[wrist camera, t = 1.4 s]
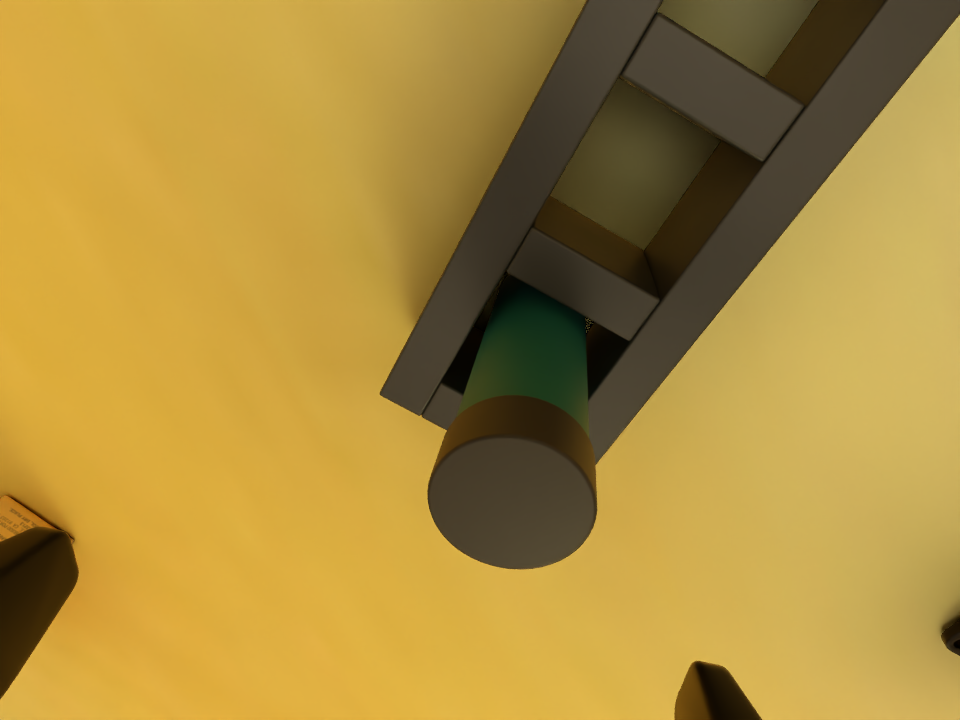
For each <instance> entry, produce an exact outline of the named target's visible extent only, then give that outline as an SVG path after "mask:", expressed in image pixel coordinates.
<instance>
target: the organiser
mask: <svg viewBox="0 0 960 720" xmlns="http://www.w3.org/2000/svg"><path fill="white" fill-rule="evenodd" d="M662 2H663V0H587V1H586V2H585V4H584V6H583V8H582V10H581V12H580V14H579V16H578V18H577V19H576V21H575V23H574V25H573V27H572V29H571V31H570V33H569V35H568V37H567V38H566V40H565V42H564V44H563V46H562V48H561V50H560V52H559V54H558V55H557V57H556V59H555V61H554V63H553V65H552V67H551V69H550V71H549V73H548V74H547V76H546V78H545V80H544V82H543V84H542V86H541V88H540V90H539V92H538V93H537V95H536V97H535V99H534V101H533V103H532V105H531V107H530V109H529V110H528V112H527V114H526V116H525V118H524V120H523V122H522V124H521V126H520V128H519V129H518V131H517V133H516V135H515V137H514V139H513V141H512V143H511V145H510V146H509V148H508V150H507V152H506V154H505V156H504V158H503V160H502V162H501V164H500V165H499V167H498V169H497V171H496V173H495V175H494V177H493V179H492V181H491V182H490V184H489V186H488V188H487V190H486V192H485V194H484V196H483V198H482V200H481V201H480V203H479V205H478V207H477V209H476V211H475V213H474V215H473V217H472V219H471V220H470V222H469V224H468V226H467V228H466V230H465V232H464V234H463V236H462V237H461V239H460V241H459V243H458V245H457V247H456V249H455V251H454V253H453V255H452V256H451V258H450V260H449V262H448V264H447V266H446V268H445V270H444V272H443V273H442V275H441V277H440V279H439V281H438V283H437V285H436V287H435V289H434V291H433V292H432V294H431V296H430V298H429V300H428V302H427V304H426V306H425V308H424V310H423V311H422V313H421V315H420V317H419V319H418V321H417V323H416V325H415V327H414V328H413V330H412V332H411V334H410V336H409V338H408V340H407V342H406V344H405V346H404V347H403V349H402V351H401V353H400V355H399V357H398V359H397V361H396V363H395V364H394V366H393V368H392V370H391V372H390V374H389V376H388V378H387V380H386V382H385V383H384V385H383V387H382V389H381V391H380V395H381V396H383V397H384V398H386V399H388V400H390V401H392V402H394V403H396V404H398V405H400V406H402V407H403V408H405V409H407V410H409V411H411V412H413V413H415V414H417V415H419V416H420V415H422V417H423V418H424V419H426V420H428V421H430V422H432V423H434V424H436V425H438V426H440V427H442V428H443V429H445V430H448V428H449V426H450V425H451V423H452V422H453V421H454V419H455V418H456V416H457V413H458V410H459V407H460V404H461V401H462V398H463V395H464V392H465V389H466V386H467V383H468V380H469V377H470V374H471V371H472V368H473V365H474V362H475V359H476V356H477V353H478V350H479V348H480V345H481V342H482V339H483V336H484V332H482V331H481V330H479V329H477V328H475V327H473V326H474V324H475V322H476V321H477V319H478V317H479V316H480V314H481V312H482V310H483V309H484V307H485V305H486V304H487V302H488V300H489V298H490V297H491V295H492V293H493V292H494V290H495V288H496V286H497V285H498V283H499V281H500V280H501V278H502V276H503V274H504V273H505V271H506V269H507V273H508V274H510V275H512V276H514V277H515V278H517V279H519V280H521V281H523V282H524V283H526V284H528V285H530V286H531V287H533V288H535V289H537V290H539V291H540V292H542V293H544V294H546V295H547V296H549V297H551V298H553V299H555V300H556V301H558V302H560V303H562V304H564V305H565V306H567V307H569V308H571V309H572V310H574V311H576V312H578V313H580V314H581V315H583V316H585V317H587V318H588V319H590V320H592V321H594V322H595V323H594V324H593V326H592V327H591V328H590V330H589V331H588V333H587V334H586V353H587V383H588V414H589V439H590V441H591V444H592V447H593V450H594V455H595V465H596V464H597V462H598V461H599V460H600V459H601V457H602V456H603V455H604V454H605V453H606V451H607V450H608V449H609V448H610V446H611V445H612V444H613V443H614V441H615V440H616V439H617V438H618V436H619V435H620V434H621V433H622V431H623V430H624V429H625V428H626V427H627V425H628V424H629V423H630V422H631V420H632V419H633V418H634V417H635V415H636V414H637V413H638V412H639V410H640V409H641V408H642V407H643V406H644V404H645V403H646V402H647V401H648V399H649V398H650V397H651V396H652V394H653V393H654V392H655V391H656V389H657V388H658V387H659V386H660V384H661V383H662V382H663V381H664V380H665V378H666V377H667V376H668V375H669V373H670V372H671V371H672V370H673V368H674V367H675V366H676V365H677V363H678V362H679V361H680V360H681V358H682V357H683V356H684V355H685V354H686V352H687V351H688V350H689V349H690V347H691V346H692V345H693V344H694V342H695V341H696V340H697V339H698V337H699V336H700V335H701V334H702V333H703V331H704V330H705V329H706V328H707V326H708V325H709V324H710V323H711V321H712V320H713V319H714V318H715V316H716V315H717V314H718V313H719V311H720V310H721V309H722V308H723V307H724V305H725V304H726V303H727V302H728V300H729V299H730V298H731V297H732V295H733V294H734V293H735V292H736V290H737V289H738V288H739V287H740V285H741V284H742V283H743V282H744V281H745V279H746V278H747V277H748V276H749V274H750V273H751V272H752V271H753V269H754V268H755V267H756V266H757V264H758V263H759V262H760V261H761V260H762V258H763V257H764V256H765V255H766V253H767V252H768V251H769V250H770V248H771V247H772V246H773V245H774V243H775V242H776V241H777V240H778V238H779V237H780V236H781V235H782V234H783V232H784V231H785V230H786V229H787V227H788V226H789V225H790V224H791V222H792V221H793V220H794V219H795V217H796V216H797V215H798V214H799V212H800V211H801V210H802V209H803V208H804V206H805V205H806V204H807V203H808V201H809V200H810V199H811V198H812V196H813V195H814V194H815V193H816V191H817V190H818V189H819V188H820V187H821V185H822V184H823V183H824V182H825V180H826V179H827V178H828V177H829V175H830V174H831V173H832V172H833V170H834V169H835V168H836V167H837V165H838V164H839V163H840V162H841V161H842V159H843V158H844V157H845V156H846V154H847V153H848V152H849V151H850V149H851V148H852V147H853V146H854V144H855V143H856V142H857V141H858V139H859V138H860V137H861V136H862V135H863V133H864V132H865V131H866V130H867V128H868V127H869V126H870V125H871V123H872V122H873V121H874V120H875V118H876V117H877V116H878V115H879V114H880V112H881V111H882V110H883V109H884V107H885V106H886V105H887V104H888V102H889V101H890V100H891V99H892V97H893V96H894V95H895V94H896V92H897V91H898V90H899V89H900V88H901V86H902V85H903V84H904V83H905V81H906V80H907V79H908V78H909V76H910V75H911V74H912V73H913V71H914V70H915V69H916V68H917V66H918V65H919V64H920V63H921V62H922V60H923V59H924V58H925V57H926V55H927V54H928V53H929V52H930V50H931V49H932V48H933V47H934V45H935V44H936V43H937V42H938V40H939V39H940V38H941V37H942V36H943V34H944V33H945V32H946V31H947V29H948V28H949V27H950V26H951V24H952V23H953V22H954V21H955V19H956V18H957V17H958V16H959V15H960V0H819V2H818V3H817V4H816V6H815V7H814V9H813V10H812V12H811V13H810V14H809V16H808V17H807V19H806V20H805V22H804V23H803V25H802V26H801V27H800V29H799V30H798V32H797V33H796V35H795V36H794V37H793V39H792V40H791V42H790V43H789V45H788V46H787V47H786V49H785V50H784V52H783V53H782V55H781V56H780V58H779V59H778V60H777V62H776V63H775V65H774V66H773V68H772V69H771V70H770V72H769V73H768V75H767V76H766V78H763V77H762V76H760V75H759V74H757V73H755V72H754V71H752V70H751V69H749V68H748V67H746V66H744V65H743V64H741V63H740V62H738V61H736V60H735V59H733V58H732V57H730V56H728V55H727V54H725V53H724V52H722V51H720V50H719V49H717V48H716V47H714V46H713V45H711V44H709V43H708V42H706V41H705V40H703V39H701V38H700V37H698V36H697V35H695V34H693V33H692V32H690V31H689V30H687V29H685V28H684V27H682V26H681V25H679V24H677V23H676V22H674V21H673V20H671V19H670V18H668V17H666V16H665V15H663V14H662V13H656V12H657V11H658V9H659V7H660V5H661V4H662ZM618 77H619V78H620V79H622V80H624V81H625V82H627V83H629V84H630V85H632V86H634V87H635V88H637V89H638V90H640V91H642V92H643V93H645V94H647V95H648V96H650V97H652V98H653V99H655V100H656V101H658V102H660V103H661V104H663V105H665V106H666V107H668V108H670V109H671V110H673V111H674V112H676V113H678V114H679V115H681V116H683V117H684V118H686V119H688V120H689V121H691V122H692V123H694V124H696V125H697V126H699V127H701V128H702V129H704V130H706V131H707V132H709V133H710V134H712V135H714V136H715V137H717V138H719V139H720V140H722V141H721V142H720V144H719V145H718V146H717V148H716V149H715V151H714V152H713V154H712V155H711V156H710V158H709V159H708V161H707V162H706V164H705V165H704V166H703V168H702V169H701V171H700V172H699V174H698V175H697V177H696V178H695V179H694V181H693V182H692V184H691V185H690V187H689V188H688V189H687V191H686V192H685V194H684V195H683V197H682V198H681V199H680V201H679V202H678V204H677V205H676V207H675V208H674V209H673V211H672V212H671V214H670V215H669V217H668V218H667V220H666V221H665V222H664V224H663V225H662V227H661V228H660V230H659V231H658V232H657V234H656V235H655V237H654V238H653V240H652V241H651V242H650V244H649V245H648V247H647V248H646V250H645V251H643V250H642V249H640V248H638V247H637V246H635V245H633V244H632V243H630V242H628V241H626V240H625V239H623V238H621V237H620V236H618V235H616V234H614V233H613V232H611V231H609V230H607V229H606V228H604V227H602V226H601V225H599V224H597V223H595V222H594V221H592V220H590V219H589V218H587V217H585V216H583V215H582V214H580V213H578V212H576V211H575V210H573V209H571V208H570V207H568V206H566V205H564V204H563V203H561V202H559V201H558V200H556V199H554V198H552V197H551V196H550V194H551V192H552V190H553V189H554V187H555V185H556V184H557V182H558V180H559V178H560V177H561V175H562V173H563V172H564V170H565V168H566V166H567V165H568V163H569V161H570V160H571V158H572V156H573V154H574V153H575V151H576V149H577V148H578V146H579V144H580V142H581V141H582V139H583V137H584V136H585V134H586V132H587V130H588V129H589V127H590V125H591V124H592V122H593V120H594V118H595V117H596V115H597V113H598V112H599V110H600V108H601V106H602V105H603V103H604V101H605V100H606V98H607V96H608V94H609V93H610V91H611V89H612V88H613V86H614V84H615V82H616V81H617V79H618Z"/></svg>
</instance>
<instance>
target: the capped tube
mask: <svg viewBox="0 0 960 720" xmlns="http://www.w3.org/2000/svg"><path fill="white" fill-rule="evenodd" d="M428 504H429V509H430V512H431V515H432V518H433V520H434V522H435V524H436V526H437V527H438V529H439V530H440V532H441V533H442V535H443V536H444V537H445V538H446V539H447V540H448V541H449V542H450V543H451V544H452V545H453V546H454V547H456V548H457V549H458V550H460V551H461V552H463V553H464V554H466V555H468V556H469V557H471V558H473V559H475V560H478V561H480V562H483V563H486V564H489V565H492V566H496V567H501V568H508V569H533V568H539V567H543V566H547V565H550V564H553V563H556V562H558V561H561V560H562V559H564V558H566V557H568V556H569V555H571V554H572V553H573V552H575V551H576V550H577V549H578V548H579V547H580V546H581V545H582V544H583V543H584V541H585V540H586V539H587V537H588V536H589V534H590V532H591V530H592V528H593V526H594V523H595V520H596V514H597V491H596V469H595V455H594V450H593V447H592V444H591V441H590V439H589V414H588V383H587V353H586V323H585V316H583V315H581V314H580V313H578V312H576V311H574V310H572V309H571V308H569V307H567V306H565V305H564V304H562V303H560V302H558V301H556V300H555V299H553V298H551V297H549V296H547V295H546V294H544V293H542V292H540V291H539V290H537V289H535V288H533V287H531V286H530V285H528V284H526V283H524V282H523V281H521V280H519V279H517V278H515V277H514V276H512V275H510V274H509V275H508V276H507V277H506V278H505V280H504V281H503V282H502V284H501V286H500V288H499V291H498V294H497V297H496V300H495V303H494V306H493V309H492V312H491V315H490V318H489V321H488V324H487V327H486V330H485V333H484V336H483V339H482V342H481V345H480V348H479V350H478V353H477V356H476V359H475V362H474V365H473V368H472V371H471V374H470V377H469V380H468V383H467V386H466V389H465V392H464V395H463V398H462V401H461V404H460V407H459V410H458V413H457V416H456V418H455V419H454V421H453V422H452V423H451V425H450V426H449V428H448V430H447V432H446V434H445V437H444V439H443V442H442V445H441V448H440V451H439V454H438V457H437V459H436V462H435V465H434V468H433V471H432V474H431V477H430V480H429V484H428Z"/></svg>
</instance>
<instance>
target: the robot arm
mask: <svg viewBox="0 0 960 720" xmlns="http://www.w3.org/2000/svg"><path fill="white" fill-rule="evenodd" d="M78 573H79V571H78V566H77V562H76V558H75V554H74V551H73V547H72V543H71V539H70V537H69V535H68V534H67V533H66V532H65V531H62V530H58V529H53V528H48V527H34V528H31V529H28V530H26V531H24V532H22V533H19V534H17V535H15V536H12V537H10V538H8V539H6V540H3V541H1V542H0V699H1V698H2V696H3V695H4V694H5V692H6V691H7V690H8V688H9V687H10V685H11V684H12V682H13V681H14V679H15V678H16V676H17V675H18V674H19V672H20V671H21V669H22V667H23V666H24V664H25V663H26V661H27V660H28V658H29V657H30V655H31V654H32V652H33V651H34V649H35V647H36V646H37V644H38V643H39V641H40V640H41V638H42V637H43V635H44V634H45V632H46V630H47V629H48V627H49V626H50V624H51V623H52V621H53V620H54V618H55V617H56V615H57V614H58V612H59V610H60V609H61V607H62V606H63V604H64V603H65V601H66V600H67V598H68V597H69V595H70V594H71V592H72V590H73V589H74V587H75V585H76V582H77V579H78ZM941 638H942V641H943V642H944V644H945V645H946V647H947V648H948V649H949V650H950V651H952V652H954V653H955V654H957V655H959V656H960V620H959V621H957V622H956V623H955V624H953V625H952V626H950V627H949V628H947V629H946V630H945V631H944V632H943V633H942V635H941ZM675 720H762V719H761V717H760V716H759V715H758V713H757V712H756V710H755V709H754V707H753V706H752V704H751V703H750V701H749V700H748V699H747V697H746V696H745V694H744V693H743V691H742V690H741V688H740V687H739V685H738V684H737V683H736V681H735V680H734V678H733V677H732V675H731V674H730V673H729V671H728V670H727V669H726V668H724V667H723V666H720V665H716V664H711V663H706V662H701V661H695V662H693V663H692V664H691V666H690V667H689V670H688V672H687V674H686V677H685V679H684V682H683V684H682V686H681V689H680V691H679V693H678V696H677V699H676V703H675Z"/></svg>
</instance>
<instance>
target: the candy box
mask: <svg viewBox="0 0 960 720" xmlns="http://www.w3.org/2000/svg"><path fill="white" fill-rule="evenodd" d="M34 527H48V528H53V529H56V528H54V527H53V526H51V525H50V524H48V523H47V522H45V521H44V520H42V519H41V518H39V517H38V516H36V515H35V514H33V513H32V512H30V511H29V510H28V509H26V508H25V507H23V506H22V505H20V504H19V503H17V502H16V501H14V500H13V499H12V498H10V497H9V496H2V497H1V498H0V542H1V541H3V540H6V539H8V538H10V537H12V536H15V535H17V534H19V533H22V532H24V531H26V530H28V529H31V528H34ZM70 539H71V543H73V542H74V540H73V539H72V538H71V537H70Z"/></svg>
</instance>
